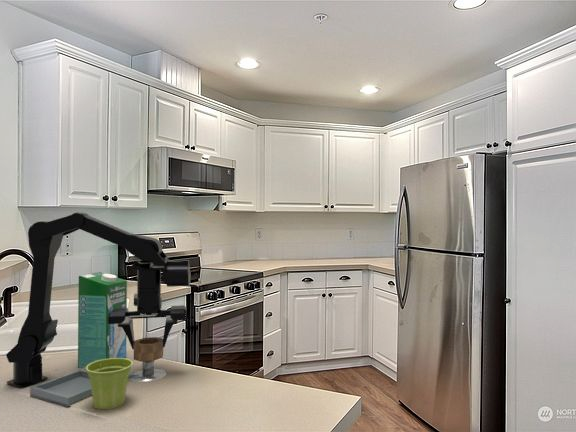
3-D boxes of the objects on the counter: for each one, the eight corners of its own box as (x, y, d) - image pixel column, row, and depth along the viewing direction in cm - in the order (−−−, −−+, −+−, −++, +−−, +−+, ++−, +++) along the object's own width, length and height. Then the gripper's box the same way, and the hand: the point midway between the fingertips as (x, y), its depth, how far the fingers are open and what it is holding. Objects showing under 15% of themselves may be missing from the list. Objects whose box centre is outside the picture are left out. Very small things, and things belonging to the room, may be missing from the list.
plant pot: (118, 392, 97) (119, 354, 97) (141, 403, 91) (141, 363, 91) (77, 405, 90) (77, 365, 90) (98, 419, 84) (99, 375, 84)
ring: (132, 362, 103) (132, 346, 103) (137, 350, 112) (137, 335, 112) (162, 360, 104) (162, 344, 104) (164, 349, 113) (164, 334, 114)
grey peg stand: (121, 379, 105) (121, 357, 105) (148, 368, 113) (148, 348, 113) (148, 385, 101) (148, 363, 101) (173, 373, 109) (174, 352, 109)
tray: (30, 396, 95) (30, 387, 95) (80, 377, 106) (80, 369, 106) (68, 407, 89) (68, 398, 89) (117, 386, 101) (117, 377, 101)
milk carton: (107, 369, 112) (107, 276, 112) (77, 367, 114) (78, 275, 114) (126, 358, 121) (127, 272, 121) (98, 356, 122) (99, 271, 123)
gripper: (186, 281, 117) (186, 337, 117) (115, 283, 113) (115, 341, 113) (186, 287, 106) (186, 349, 106) (108, 290, 102) (107, 354, 102)
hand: (148, 348), depth 107 cm, fingers closed on ring, 7 cm apart
